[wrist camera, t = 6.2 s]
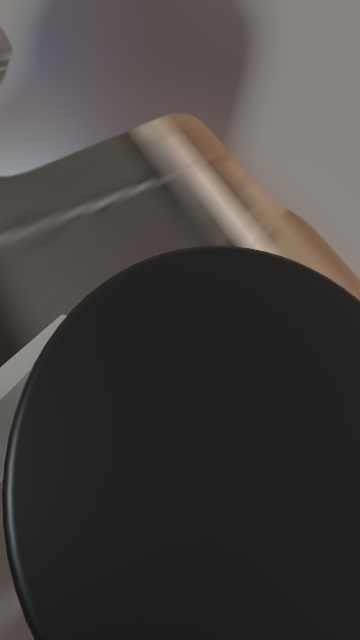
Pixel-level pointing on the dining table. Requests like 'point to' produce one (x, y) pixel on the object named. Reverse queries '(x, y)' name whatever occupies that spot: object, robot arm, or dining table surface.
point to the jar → (192, 457)
